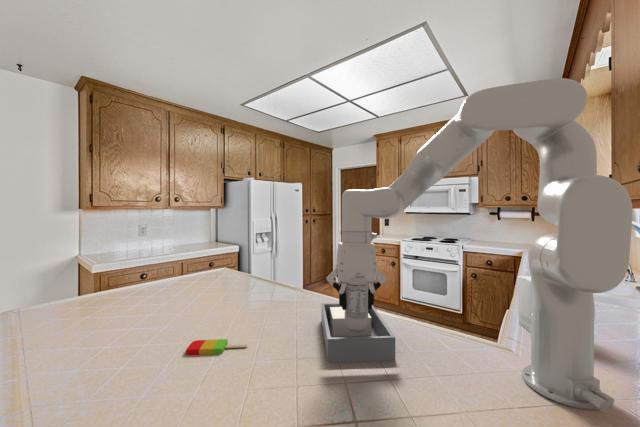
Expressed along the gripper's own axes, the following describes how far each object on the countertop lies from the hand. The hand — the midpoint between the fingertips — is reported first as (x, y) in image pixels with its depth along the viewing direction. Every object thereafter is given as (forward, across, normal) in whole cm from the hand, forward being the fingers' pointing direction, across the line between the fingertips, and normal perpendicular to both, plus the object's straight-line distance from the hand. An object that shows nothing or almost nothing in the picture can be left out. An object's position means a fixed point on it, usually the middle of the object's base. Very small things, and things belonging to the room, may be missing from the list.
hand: (356, 307), depth 70 cm
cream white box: (+10, 0, -11) cm, 15 cm away
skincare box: (+11, -57, -10) cm, 59 cm away
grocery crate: (+11, 0, -6) cm, 13 cm away
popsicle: (+12, +36, -4) cm, 38 cm away
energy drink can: (+6, 0, 0) cm, 6 cm away
